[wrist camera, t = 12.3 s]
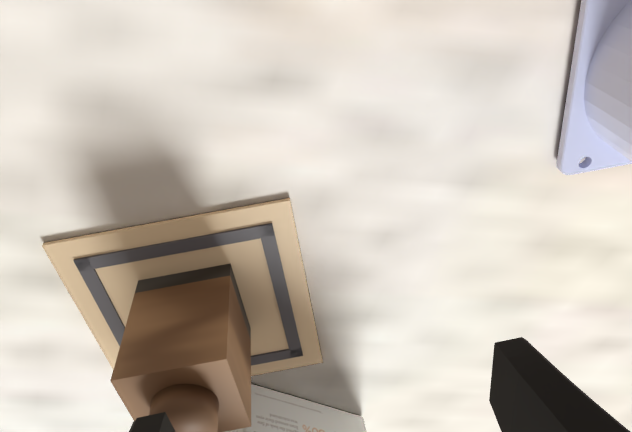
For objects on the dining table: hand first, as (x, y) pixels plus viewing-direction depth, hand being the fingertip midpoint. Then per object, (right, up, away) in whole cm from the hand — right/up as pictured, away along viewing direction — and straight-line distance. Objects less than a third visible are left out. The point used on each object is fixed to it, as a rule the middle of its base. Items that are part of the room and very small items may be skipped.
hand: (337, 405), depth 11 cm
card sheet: (-6, 0, +12) cm, 13 cm away
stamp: (-6, 0, +11) cm, 13 cm away
